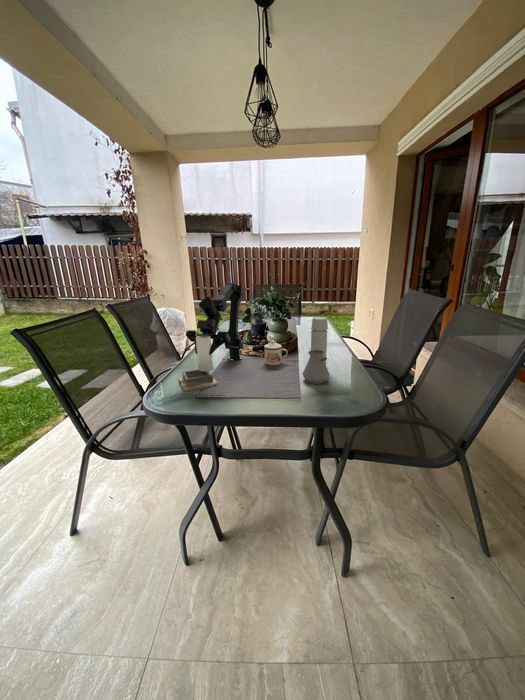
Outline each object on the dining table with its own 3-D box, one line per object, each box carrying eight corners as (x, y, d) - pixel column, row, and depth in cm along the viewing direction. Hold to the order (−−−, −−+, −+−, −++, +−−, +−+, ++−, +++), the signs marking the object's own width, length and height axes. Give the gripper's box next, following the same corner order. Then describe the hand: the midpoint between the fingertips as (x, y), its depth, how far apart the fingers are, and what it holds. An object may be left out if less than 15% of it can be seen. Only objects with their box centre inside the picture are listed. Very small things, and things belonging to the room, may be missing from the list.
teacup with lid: (264, 366, 144) (264, 343, 141) (264, 360, 153) (263, 339, 150) (288, 365, 144) (288, 342, 141) (286, 359, 153) (286, 338, 150)
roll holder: (179, 379, 129) (178, 371, 128) (209, 374, 134) (209, 366, 133) (184, 391, 117) (183, 382, 116) (217, 385, 122) (217, 376, 121)
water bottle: (326, 373, 132) (328, 319, 125) (309, 372, 133) (310, 319, 126) (326, 367, 140) (328, 316, 133) (310, 366, 142) (311, 316, 135)
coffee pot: (300, 376, 130) (300, 344, 126) (325, 375, 130) (326, 343, 126) (310, 396, 109) (311, 358, 105) (340, 395, 110) (342, 357, 106)
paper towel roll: (199, 367, 125) (196, 335, 121) (213, 366, 126) (210, 334, 122) (198, 371, 120) (195, 339, 115) (212, 370, 120) (210, 338, 116)
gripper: (185, 311, 122) (174, 343, 115) (226, 312, 117) (217, 345, 110) (196, 326, 132) (186, 356, 125) (234, 327, 127) (226, 358, 120)
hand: (203, 354), depth 120 cm, fingers closed on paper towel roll, 6 cm apart
